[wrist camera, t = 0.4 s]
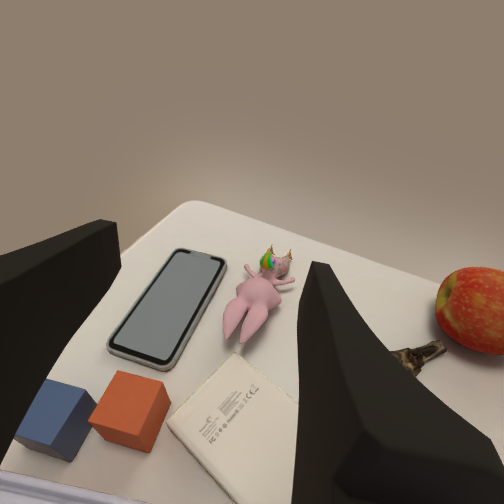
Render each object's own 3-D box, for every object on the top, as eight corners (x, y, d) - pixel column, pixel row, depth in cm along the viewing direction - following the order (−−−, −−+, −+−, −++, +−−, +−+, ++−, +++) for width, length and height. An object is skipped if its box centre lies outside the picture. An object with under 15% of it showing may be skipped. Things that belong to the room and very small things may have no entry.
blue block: (71, 462, 24) (49, 446, 22) (27, 448, 25) (0, 430, 22) (101, 409, 27) (85, 389, 25) (61, 398, 28) (41, 376, 25)
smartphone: (101, 347, 31) (176, 246, 41) (104, 352, 31) (177, 251, 42) (169, 370, 29) (229, 259, 39) (170, 375, 30) (230, 264, 40)
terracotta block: (149, 453, 25) (137, 436, 22) (104, 439, 26) (87, 421, 23) (171, 402, 28) (163, 381, 25) (129, 391, 28) (117, 369, 26)
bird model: (316, 385, 29) (320, 370, 27) (432, 340, 33) (443, 325, 31) (334, 420, 27) (341, 407, 25) (457, 367, 30) (470, 353, 29)
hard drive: (291, 566, 20) (168, 428, 26) (352, 455, 25) (235, 358, 31) (293, 564, 19) (164, 420, 25) (357, 448, 24) (235, 349, 30)
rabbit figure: (256, 260, 43) (202, 341, 31) (260, 221, 39) (201, 295, 28) (301, 273, 41) (263, 364, 29) (309, 233, 38) (270, 317, 26)
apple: (429, 293, 37) (460, 241, 32) (512, 320, 34) (562, 269, 29) (421, 347, 32) (457, 297, 26) (519, 385, 29) (581, 337, 24)
